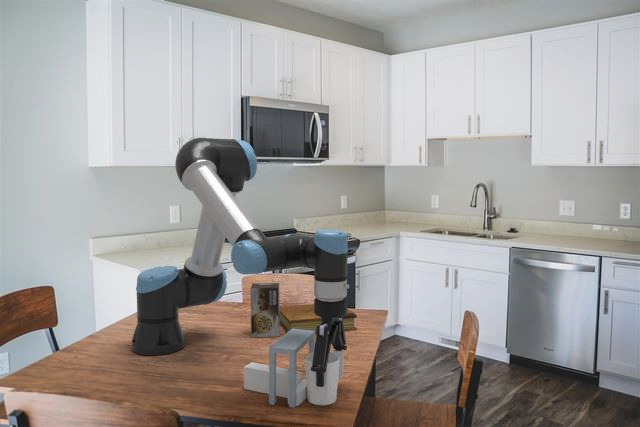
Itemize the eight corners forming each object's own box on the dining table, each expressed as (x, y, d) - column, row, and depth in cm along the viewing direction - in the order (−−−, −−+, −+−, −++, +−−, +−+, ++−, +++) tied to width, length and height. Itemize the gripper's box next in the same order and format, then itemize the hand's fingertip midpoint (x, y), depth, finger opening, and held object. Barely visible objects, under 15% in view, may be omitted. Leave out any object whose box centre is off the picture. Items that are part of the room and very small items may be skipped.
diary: (337, 317, 195) (337, 301, 195) (356, 332, 178) (356, 315, 177) (275, 321, 188) (276, 305, 188) (289, 337, 170) (289, 319, 170)
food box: (280, 331, 176) (280, 282, 174) (279, 337, 169) (279, 287, 168) (252, 331, 175) (252, 282, 174) (250, 337, 169) (250, 286, 167)
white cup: (308, 408, 119) (309, 364, 118) (301, 394, 126) (302, 352, 126) (343, 405, 121) (343, 362, 120) (334, 391, 128) (334, 350, 128)
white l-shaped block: (237, 393, 127) (237, 370, 126) (257, 380, 135) (257, 358, 134) (297, 406, 120) (297, 382, 120) (314, 391, 128) (314, 369, 128)
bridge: (269, 404, 121) (269, 347, 120) (292, 379, 135) (292, 328, 134) (294, 407, 119) (294, 350, 118) (314, 382, 133) (315, 330, 132)
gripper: (331, 312, 109) (330, 412, 111) (358, 287, 133) (357, 370, 135) (296, 309, 112) (296, 407, 113) (329, 285, 135) (329, 367, 137)
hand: (329, 387), depth 124 cm, fingers open, 13 cm apart
